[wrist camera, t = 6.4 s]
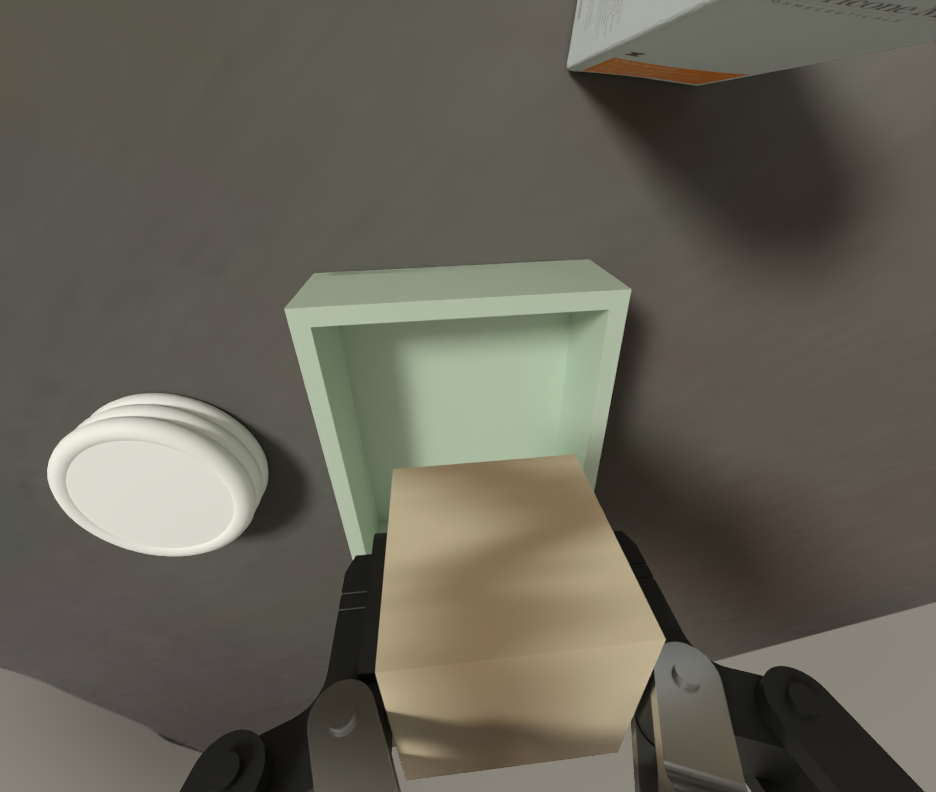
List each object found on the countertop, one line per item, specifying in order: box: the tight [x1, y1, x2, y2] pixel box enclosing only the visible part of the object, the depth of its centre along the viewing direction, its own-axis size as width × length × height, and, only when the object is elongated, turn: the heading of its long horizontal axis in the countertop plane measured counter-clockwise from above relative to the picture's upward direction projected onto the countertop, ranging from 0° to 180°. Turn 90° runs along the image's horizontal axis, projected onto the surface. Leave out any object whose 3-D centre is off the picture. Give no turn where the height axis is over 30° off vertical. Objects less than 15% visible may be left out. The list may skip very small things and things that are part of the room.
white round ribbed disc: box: [47, 393, 268, 556], centre depth 24 cm, size 10×10×4 cm
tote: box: [284, 259, 631, 560], centre depth 23 cm, size 14×18×5 cm
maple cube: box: [375, 454, 666, 780], centre depth 10 cm, size 5×5×5 cm
